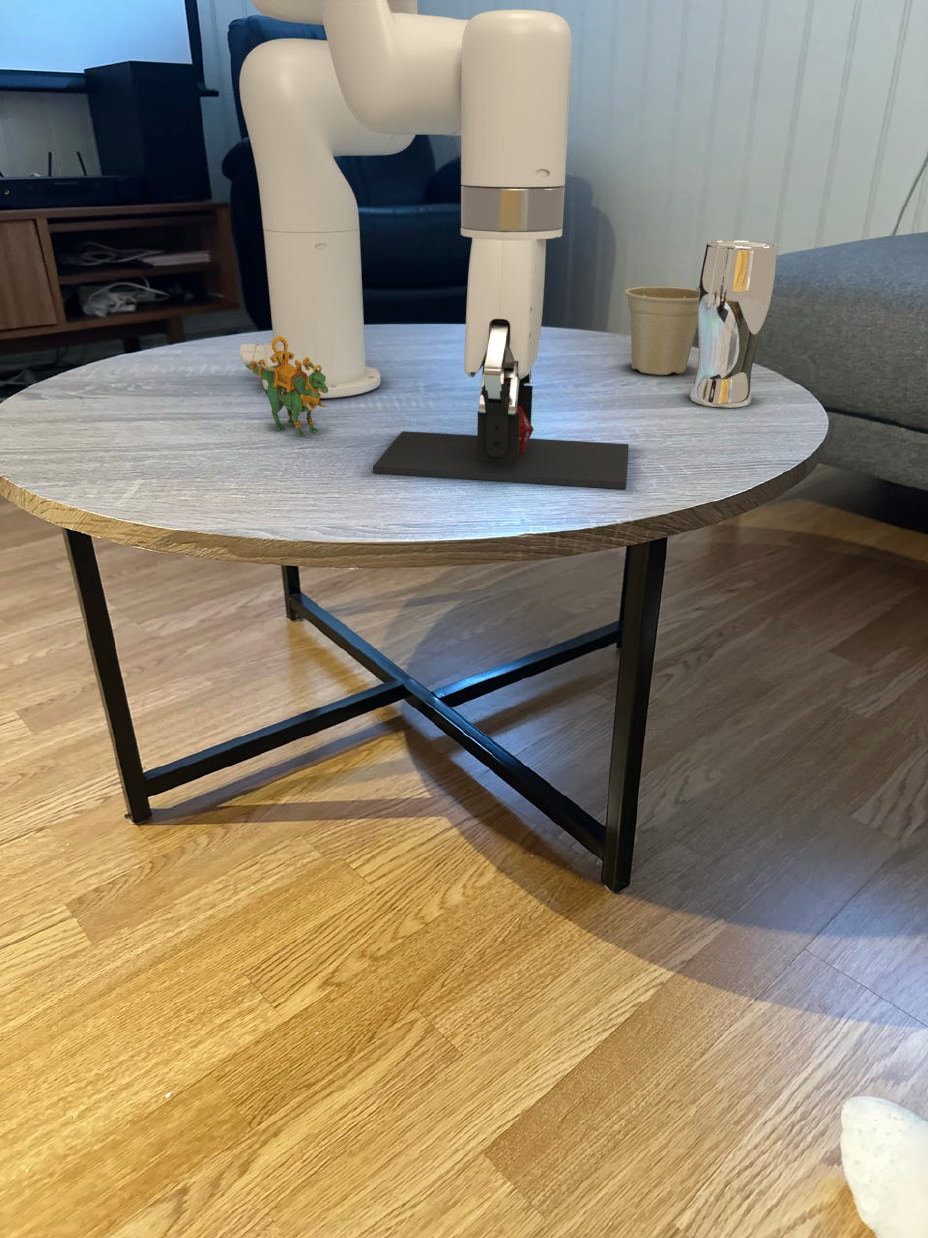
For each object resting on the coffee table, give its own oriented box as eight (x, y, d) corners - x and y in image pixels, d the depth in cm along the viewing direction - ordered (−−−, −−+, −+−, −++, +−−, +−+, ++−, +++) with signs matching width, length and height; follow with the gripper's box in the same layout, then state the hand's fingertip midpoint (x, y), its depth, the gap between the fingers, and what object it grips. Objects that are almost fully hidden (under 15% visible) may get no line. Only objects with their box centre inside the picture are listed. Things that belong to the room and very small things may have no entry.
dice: (475, 449, 76) (475, 401, 74) (526, 446, 77) (528, 399, 75) (486, 463, 73) (487, 414, 71) (539, 459, 74) (541, 410, 72)
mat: (372, 473, 72) (372, 465, 72) (402, 437, 81) (402, 430, 81) (625, 489, 69) (626, 481, 69) (628, 450, 78) (628, 443, 78)
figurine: (316, 444, 79) (309, 348, 75) (237, 418, 86) (227, 329, 82) (343, 437, 81) (338, 343, 77) (264, 412, 88) (255, 325, 84)
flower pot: (689, 361, 110) (698, 285, 106) (710, 379, 101) (720, 298, 97) (612, 361, 109) (618, 285, 105) (626, 379, 101) (634, 298, 97)
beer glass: (757, 411, 89) (783, 248, 82) (685, 407, 91) (705, 245, 84) (752, 394, 95) (776, 240, 88) (685, 390, 97) (703, 238, 90)
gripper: (480, 205, 74) (477, 415, 83) (437, 222, 59) (439, 477, 68) (571, 207, 73) (559, 420, 82) (552, 224, 58) (539, 484, 66)
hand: (505, 445), depth 74 cm, fingers open, 8 cm apart
